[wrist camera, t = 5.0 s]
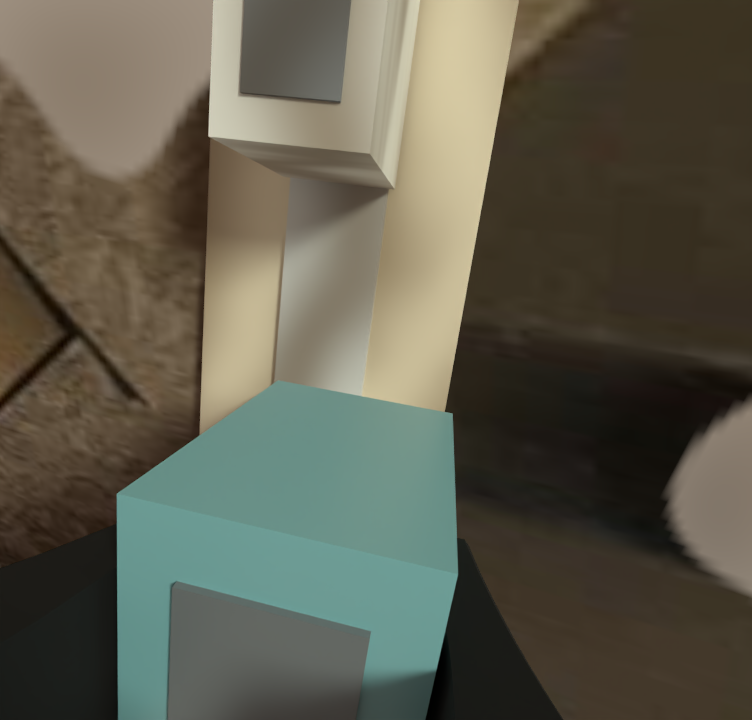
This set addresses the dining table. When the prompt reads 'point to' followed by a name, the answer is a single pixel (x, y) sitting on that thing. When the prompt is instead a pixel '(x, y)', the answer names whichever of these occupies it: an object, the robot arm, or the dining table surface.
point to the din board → (345, 192)
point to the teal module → (290, 564)
